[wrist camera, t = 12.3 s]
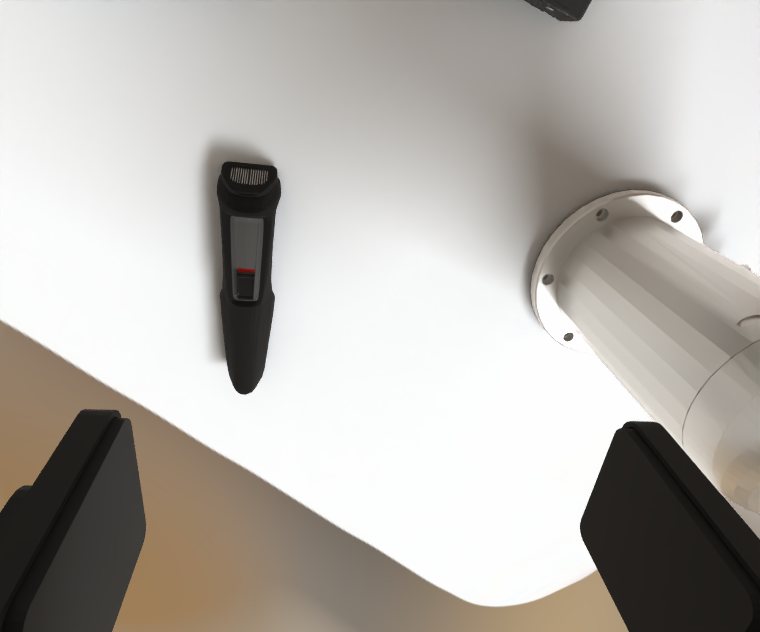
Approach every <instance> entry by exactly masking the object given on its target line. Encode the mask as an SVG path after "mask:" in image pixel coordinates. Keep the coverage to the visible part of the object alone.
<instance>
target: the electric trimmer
mask: <svg viewBox="0 0 760 632" xmlns="http://www.w3.org/2000/svg"><path fill="white" fill-rule="evenodd" d="M217 195H218V200H219V205H220V219H221V236H222V255H223V287H222V290H221V292H220V300H221V312H222V322H223V332H224V341H225V351H226V360H227V366H228V372H229V376H230V379H231V381H232V384H233V386H234V388H235V390H236V391H237V392H238V393H240V394H248V393H251V392H252V391H253V390H254V389H255V388H256V386H257V384H258V383H259V381H260V379H261V378H262V375H263V372H264V368H265V362H266V355H267V349H268V342H269V336H270V330H271V323H272V317H273V310H274V301H275V295H274V293H273V291H272V285H271V269H272V250H273V237H274V226H275V214H276V209H277V206H278V203H279V200H280V197H281V185H280V180H279V179H278V178H277V169H276V168H275V167H273V166H268V165H258V164H248V163H237V162H226V163H224V164H223V165H222V170H221V175H220V176H219V179H218V184H217Z"/></svg>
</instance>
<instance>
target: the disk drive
mask: <svg viewBox="0 0 760 632" xmlns="http://www.w3.org/2000/svg"><path fill="white" fill-rule="evenodd" d="M525 1H526V2H528V3H530V4H531V5H533V6H535V7H537V8H538V9H540V10H541V11H545V12H546V13H548V14H549V15H551V16H552V17H555V18H556V19H557V20H559V21H579V20H581V18H582V17H583V15H584V13H585V12H586V10H587V8H588V6H589V4H590V2H591V0H525Z"/></svg>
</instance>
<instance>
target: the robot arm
mask: <svg viewBox="0 0 760 632" xmlns="http://www.w3.org/2000/svg"><path fill="white" fill-rule="evenodd" d="M597 212H598V213H597ZM531 299H532V306H533V309H534V312H535V314H536V317H537V319H538V320H539V322H540V323H541V325H542V326H543V327H544V329H545V330H546V331H547V332H548V333H549V334H550V336H551V337H552V338H553V339H554V340H556V341H557V342H559V343H560V344H562V345H563V346H566V347H568V348H571V349H574V350H576V351H583V352H589V353H595V355H596V356H597V357H598V358H599V359H600V360H601V361H602V363H603V364H604V365H605V366H606V367H607V368H608V369H609V370H610V372H611V373H612V374H613V375H614V376H615V377H616V378H617V380H618V381H619V382H620V383H621V384H622V385H623V386H624V387H625V389H626V390H627V391H628V392H629V393H630V394H631V395H632V397H633V398H634V399H635V400H636V401H637V402H638V403H639V404H640V406H641V407H642V408H643V409H644V410H645V411H646V412H647V414H648V415H649V416H650V417H651V418H652V419H653V420H654V421H655V422H639V421H630V422H627V423H625V424H624V425H623V427H622V428H621V429H618V430H617V431H616V432H615V434H614V437H613V439H612V442H611V444H610V447H609V450H608V452H607V455H606V457H605V460H604V462H603V465H602V468H601V470H600V473H599V475H598V478H597V480H596V483H595V486H594V488H593V491H592V493H591V496H590V498H589V501H588V503H587V506H586V509H585V511H584V514H583V516H582V519H581V523H580V532H581V536H582V539H583V541H584V543H585V545H586V547H587V549H588V551H589V553H590V555H591V557H592V559H593V561H594V563H595V565H596V567H597V569H598V571H599V573H600V575H601V577H602V579H603V581H604V583H605V585H606V587H607V589H608V591H609V593H610V595H611V597H612V599H613V601H614V603H615V605H616V607H617V609H618V611H619V613H620V615H621V617H622V619H623V620H624V623H625V624H626V626H627V628H628V630H629V632H760V539H759V538H758V537H757V536H756V535H755V533H754V532H753V531H752V530H751V529H750V527H749V526H748V525H747V524H746V523H745V522H744V520H743V519H742V518H741V517H740V516H739V515H738V514H737V512H736V511H735V510H734V509H733V508H732V507H731V505H730V504H729V503H728V502H727V501H726V499H725V498H724V497H723V496H725V497H726V498H727V499H729V500H730V501H732V502H734V503H736V504H737V505H739V506H741V507H743V508H744V509H746V510H748V511H751V512H753V513H756V514H758V515H760V276H758V275H757V274H755V273H753V272H751V269H750V268H749V267H748V266H747V265H739V264H737V263H735V262H734V261H732V260H730V259H728V258H726V257H725V256H723V255H721V254H719V253H717V252H716V251H714V250H712V249H710V248H709V247H707V246H705V245H704V244H703V238H702V233H701V230H700V228H699V226H698V223H697V221H696V219H695V218H694V217H693V215H692V214H691V213H690V212H689V210H688V209H687V208H685V207H684V206H683V205H681V204H680V203H678V202H677V201H676V200H673V199H671V198H669V197H667V196H665V195H663V194H660V193H656V192H652V191H648V190H627V191H621V192H615V193H612V194H609V195H606V196H603V197H601V198H598V199H596V200H594V201H592V202H590V203H588V204H587V205H585V206H583V207H581V208H580V209H579V210H577V211H576V212H575V213H573V214H572V215H571V216H569V217H568V218H567V219H566V220H565V221H564V222H563V223H562V224H561V225H560V226H559V227H558V228H557V229H556V230H555V231H554V232H553V234H552V235H551V237H550V238H549V239H548V241H547V242H546V244H545V245H544V247H543V249H542V251H541V253H540V255H539V257H538V259H537V261H536V264H535V268H534V271H533V275H532V280H531ZM720 493H721V494H722V495H723V496H722V495H721V494H720ZM145 532H146V521H145V513H144V507H143V499H142V493H141V487H140V480H139V472H138V466H137V459H136V452H135V445H134V438H133V432H132V425H131V421H130V420H129V419H128V418H121V415H120V413H119V411H117V410H91V409H88V410H87V409H84V410H82V411H80V413H79V414H78V415H77V417H76V418H75V420H74V421H73V423H72V424H71V426H70V428H69V429H68V431H67V432H66V434H65V435H64V437H63V439H62V440H61V442H60V443H59V445H58V446H57V448H56V449H55V451H54V453H53V454H52V456H51V457H50V459H49V461H48V462H47V464H46V465H45V467H44V468H43V470H42V471H41V473H40V474H39V476H38V478H37V479H36V481H35V482H34V484H33V485H32V486H22V487H21V488H19V489H18V490H16V491H15V493H14V494H13V495H12V496H11V497H10V499H9V500H8V502H7V503H6V505H5V506H4V508H3V509H2V511H1V512H0V632H112V630H113V627H114V625H115V622H116V619H117V616H118V613H119V610H120V608H121V605H122V602H123V599H124V596H125V593H126V591H127V588H128V585H129V582H130V579H131V576H132V573H133V571H134V568H135V565H136V562H137V559H138V557H139V554H140V551H141V548H142V545H143V542H144V538H145Z"/></svg>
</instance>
